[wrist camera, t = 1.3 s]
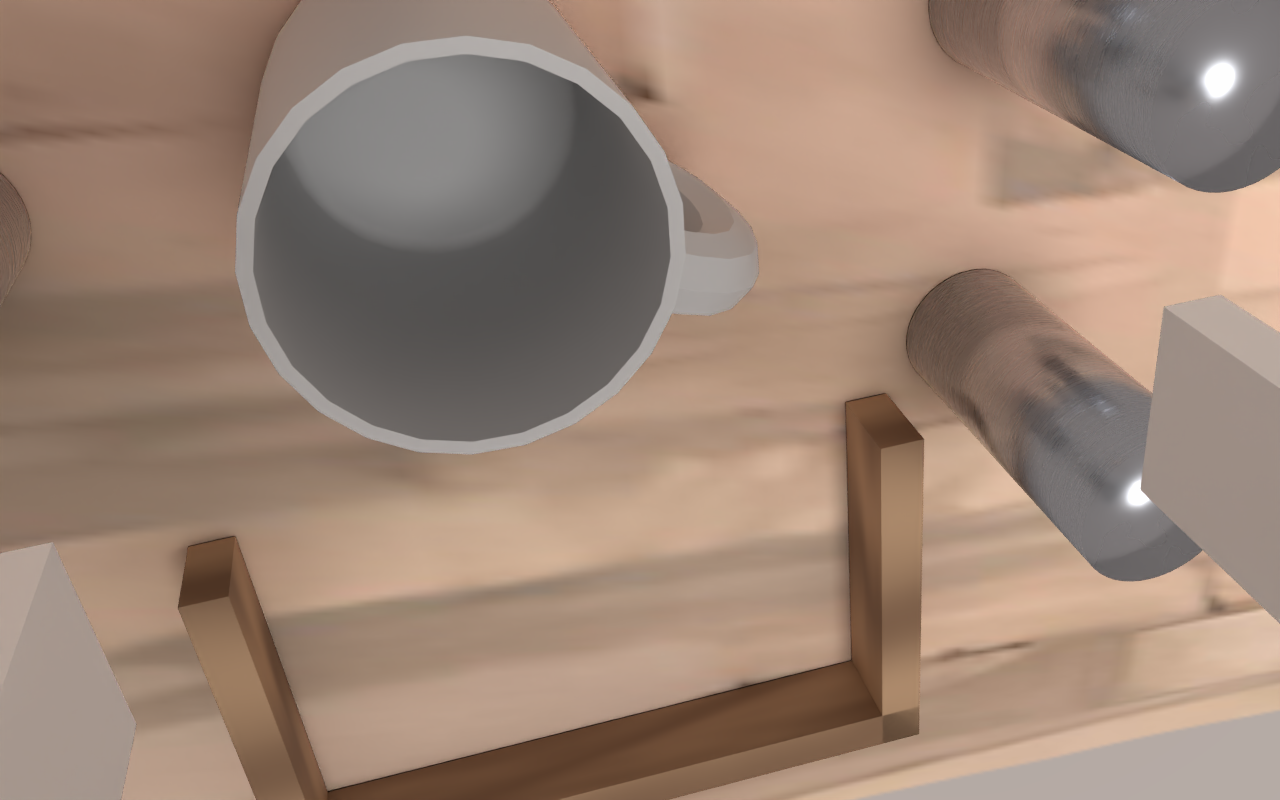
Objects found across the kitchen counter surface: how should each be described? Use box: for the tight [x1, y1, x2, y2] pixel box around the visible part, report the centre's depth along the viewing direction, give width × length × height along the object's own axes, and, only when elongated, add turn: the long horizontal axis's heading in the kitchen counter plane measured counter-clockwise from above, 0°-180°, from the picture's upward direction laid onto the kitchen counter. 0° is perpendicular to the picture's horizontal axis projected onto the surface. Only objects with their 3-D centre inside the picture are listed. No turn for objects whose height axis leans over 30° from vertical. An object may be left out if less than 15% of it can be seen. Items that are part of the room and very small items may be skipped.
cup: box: [235, 0, 759, 454], centre depth 23 cm, size 7×10×9 cm
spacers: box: [0, 0, 1280, 581], centre depth 23 cm, size 21×28×9 cm
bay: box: [178, 394, 924, 800], centre depth 34 cm, size 11×19×2 cm, turn 96°
